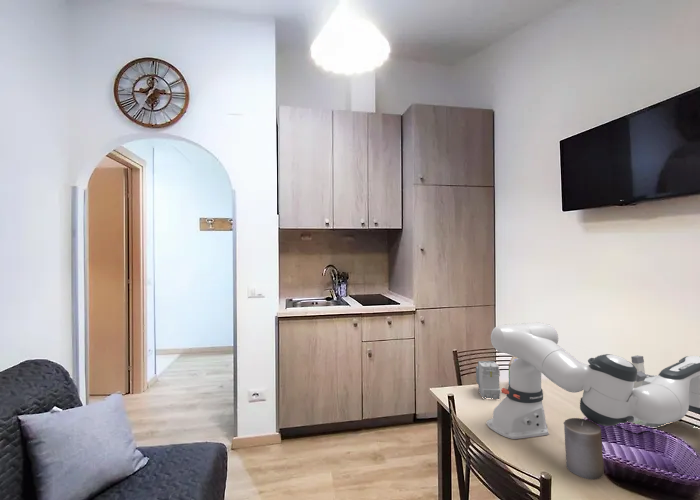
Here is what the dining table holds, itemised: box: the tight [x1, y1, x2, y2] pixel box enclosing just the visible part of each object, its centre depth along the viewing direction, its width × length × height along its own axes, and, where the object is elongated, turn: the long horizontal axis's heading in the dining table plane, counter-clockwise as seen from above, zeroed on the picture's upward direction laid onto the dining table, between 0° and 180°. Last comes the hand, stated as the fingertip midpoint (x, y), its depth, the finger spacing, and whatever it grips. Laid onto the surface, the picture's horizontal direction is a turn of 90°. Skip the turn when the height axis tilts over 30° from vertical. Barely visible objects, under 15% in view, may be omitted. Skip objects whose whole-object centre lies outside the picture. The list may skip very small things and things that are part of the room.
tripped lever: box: [630, 355, 646, 386], centre depth 146 cm, size 4×2×18 cm, turn 111°
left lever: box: [633, 371, 647, 388], centre depth 136 cm, size 4×2×18 cm, turn 111°
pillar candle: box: [563, 417, 605, 480], centre depth 111 cm, size 10×10×15 cm
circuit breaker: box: [475, 360, 501, 400], centre depth 172 cm, size 8×14×15 cm, turn 174°
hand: (643, 376), depth 146 cm, fingers closed, pressing on tripped lever
